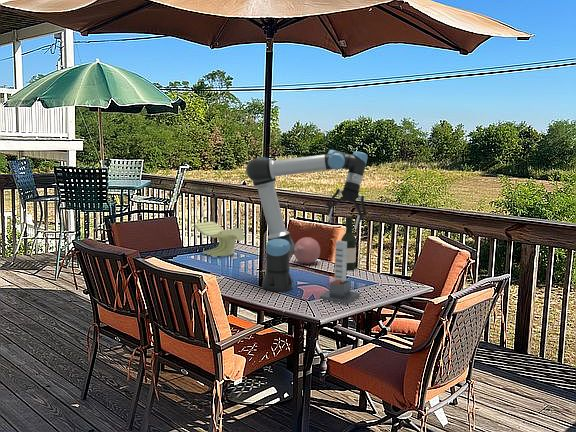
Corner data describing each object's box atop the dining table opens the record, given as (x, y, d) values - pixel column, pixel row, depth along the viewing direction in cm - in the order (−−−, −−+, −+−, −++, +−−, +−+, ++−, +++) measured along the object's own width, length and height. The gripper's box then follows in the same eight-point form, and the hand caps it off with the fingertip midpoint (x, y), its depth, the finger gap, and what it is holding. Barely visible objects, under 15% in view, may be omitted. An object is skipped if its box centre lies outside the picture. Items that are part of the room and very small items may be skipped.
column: (338, 282, 274) (339, 240, 271) (346, 283, 272) (347, 241, 269) (334, 284, 271) (335, 242, 267) (342, 285, 269) (343, 243, 265)
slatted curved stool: (243, 256, 356) (243, 227, 353) (221, 260, 346) (221, 230, 343) (216, 248, 379) (216, 221, 376) (195, 251, 369) (194, 223, 366)
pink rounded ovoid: (282, 264, 338) (282, 238, 335) (307, 259, 351) (307, 233, 348) (300, 269, 326) (300, 242, 324) (325, 263, 340) (326, 237, 337)
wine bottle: (354, 270, 324) (356, 217, 320) (339, 269, 326) (341, 216, 321) (356, 267, 333) (357, 215, 328) (341, 266, 334) (342, 214, 329)
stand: (333, 292, 282) (333, 274, 281) (359, 297, 275) (360, 278, 274) (319, 299, 270) (319, 281, 269) (347, 305, 263) (347, 285, 262)
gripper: (329, 175, 284) (317, 217, 282) (378, 189, 283) (367, 231, 282) (327, 177, 291) (316, 218, 289) (376, 190, 291) (365, 232, 289)
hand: (341, 224), depth 286 cm, fingers open, 13 cm apart
